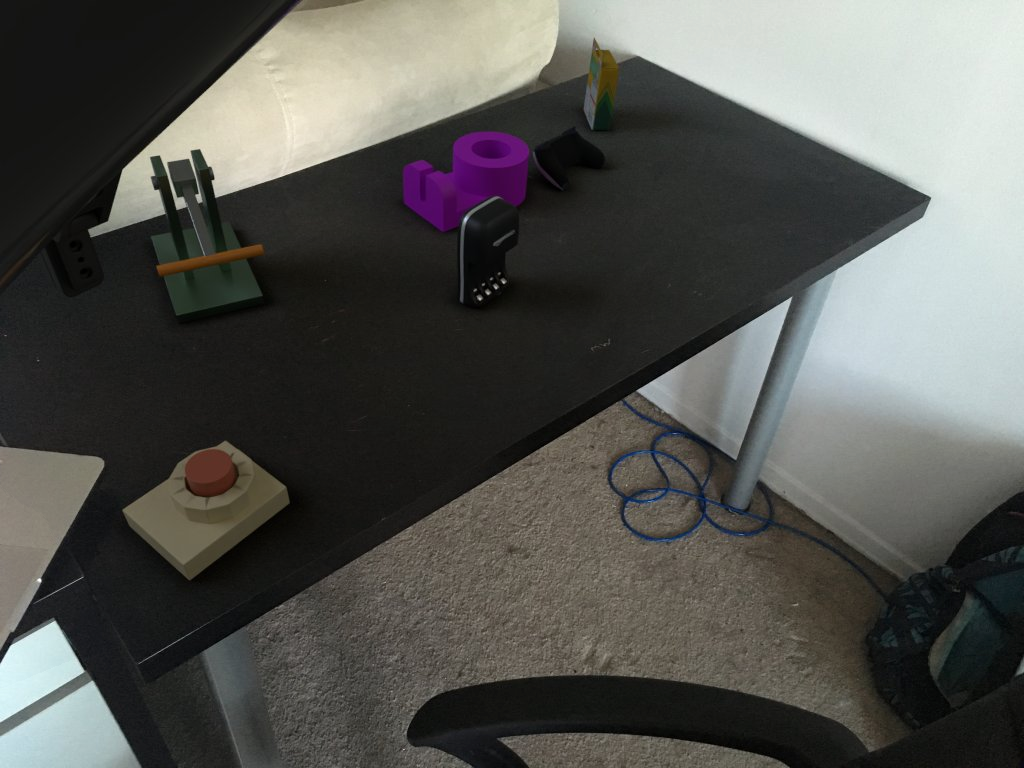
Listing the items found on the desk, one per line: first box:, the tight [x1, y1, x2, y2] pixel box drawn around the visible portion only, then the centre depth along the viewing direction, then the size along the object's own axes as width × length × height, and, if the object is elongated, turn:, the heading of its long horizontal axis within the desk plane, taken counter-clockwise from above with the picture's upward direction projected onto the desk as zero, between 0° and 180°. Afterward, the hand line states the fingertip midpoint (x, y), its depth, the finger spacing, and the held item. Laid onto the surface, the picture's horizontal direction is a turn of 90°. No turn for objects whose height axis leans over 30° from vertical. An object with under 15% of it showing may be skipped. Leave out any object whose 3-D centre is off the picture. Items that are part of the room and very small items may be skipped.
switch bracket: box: [149, 148, 265, 325], centre depth 85 cm, size 16×9×14 cm, turn 27°
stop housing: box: [122, 440, 291, 581], centre depth 64 cm, size 10×8×4 cm
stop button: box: [185, 448, 236, 497], centre depth 63 cm, size 4×4×2 cm
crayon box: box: [583, 37, 620, 131], centre depth 121 cm, size 7×3×12 cm, turn 7°
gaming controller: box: [532, 125, 606, 191], centre depth 111 cm, size 11×4×7 cm
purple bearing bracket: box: [402, 131, 530, 233], centre depth 103 cm, size 16×10×6 cm, turn 131°
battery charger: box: [456, 196, 520, 309], centre depth 86 cm, size 7×4×11 cm, turn 142°
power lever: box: [155, 158, 265, 278], centre depth 79 cm, size 13×10×2 cm
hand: (78, 284), depth 41 cm, fingers closed
